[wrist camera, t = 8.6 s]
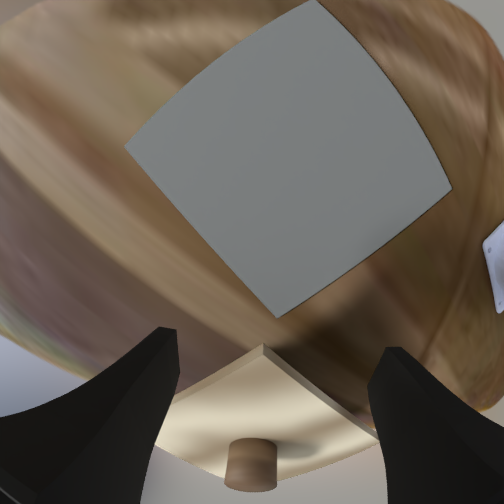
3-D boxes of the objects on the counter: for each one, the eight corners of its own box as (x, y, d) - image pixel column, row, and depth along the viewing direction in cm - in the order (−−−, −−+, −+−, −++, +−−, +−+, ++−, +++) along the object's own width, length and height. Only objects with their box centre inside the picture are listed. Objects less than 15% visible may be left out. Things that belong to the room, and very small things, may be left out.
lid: (378, 433, 16) (389, 474, 12) (249, 481, 19) (246, 513, 16) (263, 342, 13) (260, 406, 9) (128, 418, 16) (112, 457, 13)
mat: (449, 187, 16) (452, 188, 15) (277, 315, 20) (277, 318, 20) (312, 0, 12) (313, -2, 12) (126, 146, 16) (123, 146, 16)
